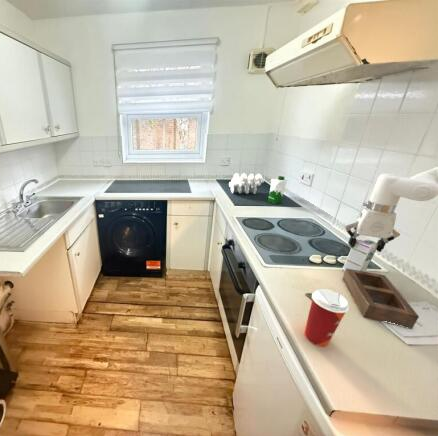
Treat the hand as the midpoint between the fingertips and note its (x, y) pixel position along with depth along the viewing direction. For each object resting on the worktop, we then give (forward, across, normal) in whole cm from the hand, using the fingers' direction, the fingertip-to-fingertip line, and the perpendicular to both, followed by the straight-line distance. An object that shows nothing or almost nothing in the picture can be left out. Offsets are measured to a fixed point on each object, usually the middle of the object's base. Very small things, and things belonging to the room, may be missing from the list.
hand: (364, 248), depth 95 cm
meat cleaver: (+12, -19, -28) cm, 36 cm away
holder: (+12, 0, -18) cm, 22 cm away
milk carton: (+12, -25, +87) cm, 91 cm away
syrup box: (+12, -1, 0) cm, 12 cm away
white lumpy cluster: (+12, -48, +104) cm, 115 cm away
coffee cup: (+12, -22, -44) cm, 51 cm away
